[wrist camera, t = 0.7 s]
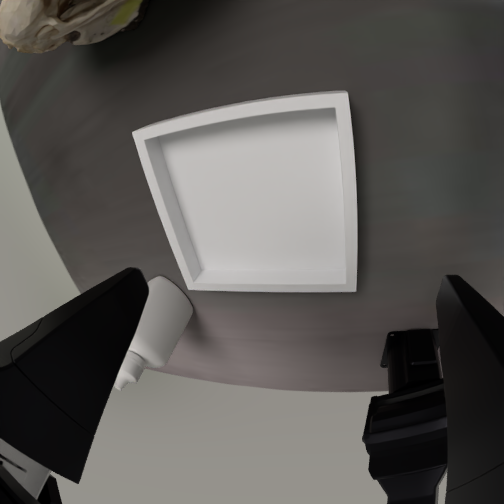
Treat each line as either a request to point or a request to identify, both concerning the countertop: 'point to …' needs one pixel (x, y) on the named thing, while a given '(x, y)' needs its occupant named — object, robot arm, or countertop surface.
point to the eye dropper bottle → (156, 330)
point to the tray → (258, 193)
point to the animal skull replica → (65, 22)
